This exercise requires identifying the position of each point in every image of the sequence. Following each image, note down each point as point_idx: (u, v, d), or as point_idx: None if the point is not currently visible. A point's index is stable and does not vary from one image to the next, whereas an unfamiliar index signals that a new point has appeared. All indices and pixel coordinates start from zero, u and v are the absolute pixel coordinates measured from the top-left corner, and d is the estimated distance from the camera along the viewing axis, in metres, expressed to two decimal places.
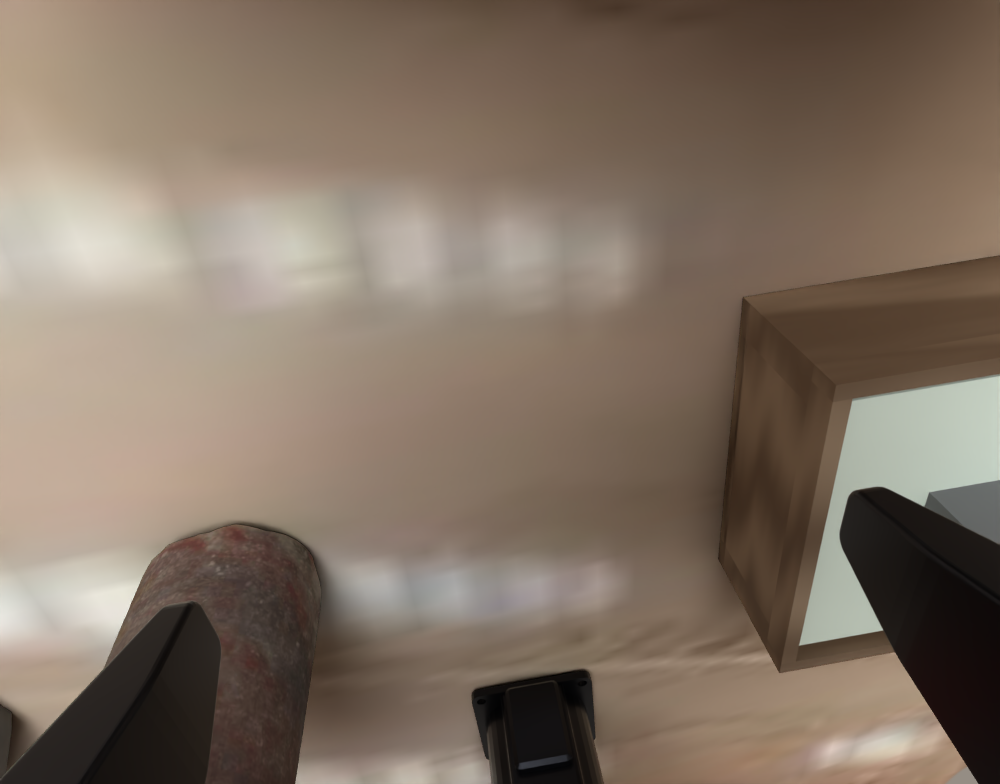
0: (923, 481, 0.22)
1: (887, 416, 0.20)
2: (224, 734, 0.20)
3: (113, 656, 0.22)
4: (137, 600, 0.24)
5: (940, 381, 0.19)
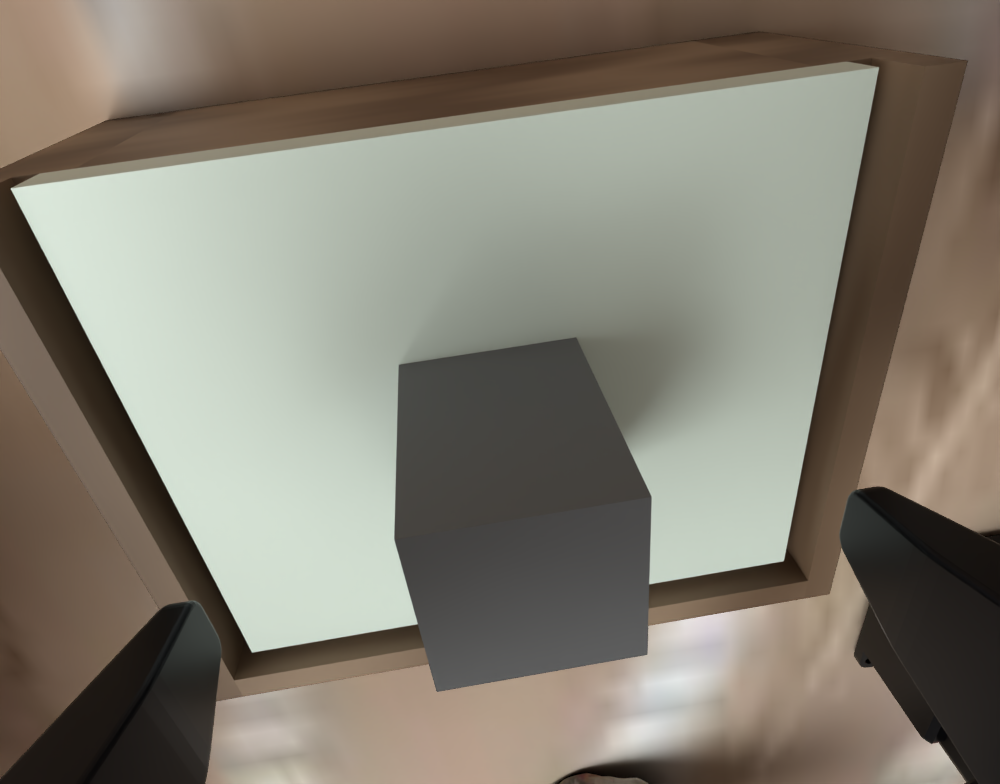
0: None
1: (272, 607, 0.13)
2: None
3: None
4: None
5: (184, 600, 0.12)
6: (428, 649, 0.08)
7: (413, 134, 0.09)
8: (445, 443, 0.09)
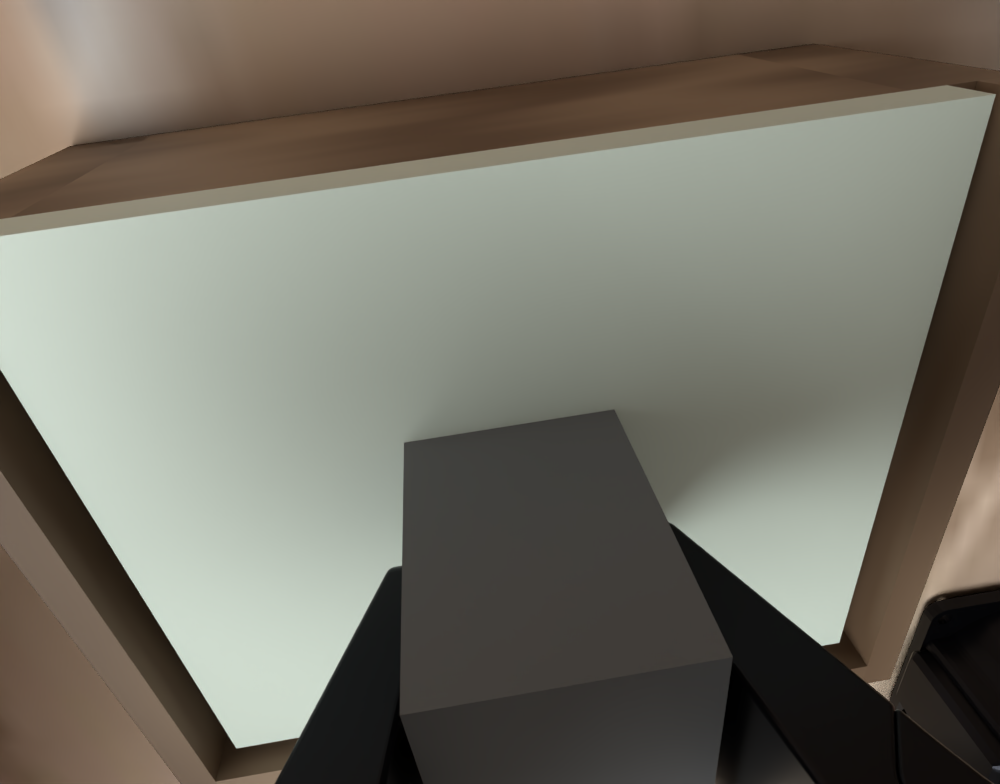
0: None
1: (259, 702, 0.12)
2: None
3: None
4: None
5: (155, 702, 0.11)
6: None
7: (423, 178, 0.07)
8: (461, 560, 0.07)
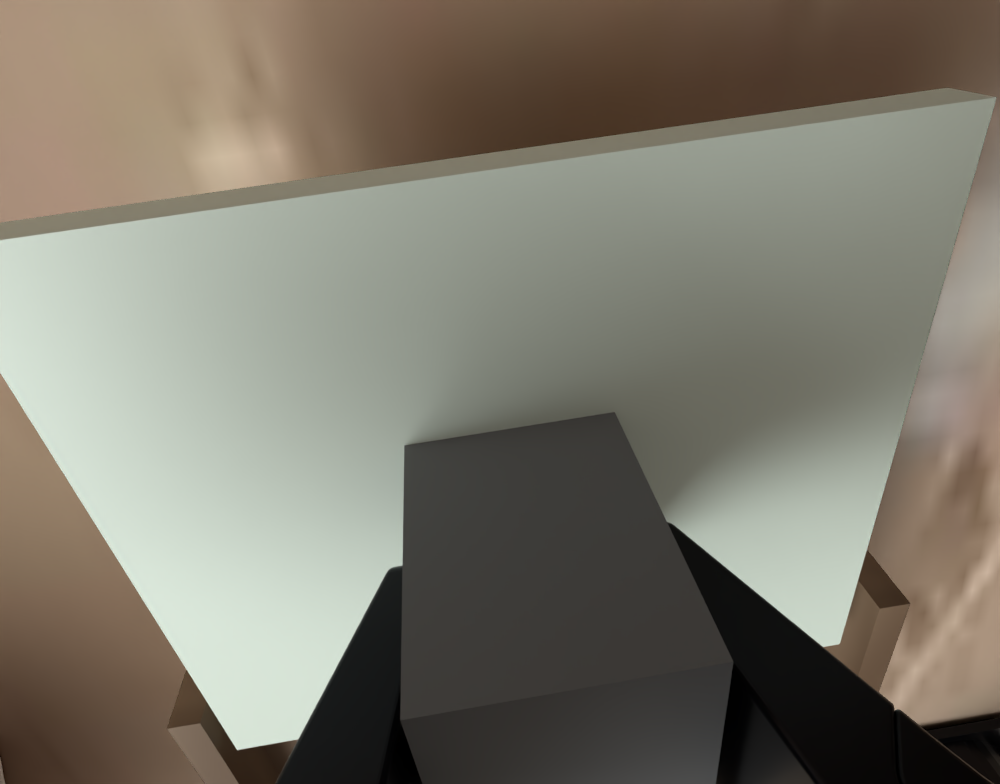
0: None
1: (260, 703, 0.12)
2: None
3: None
4: None
5: None
6: None
7: (423, 182, 0.07)
8: (462, 564, 0.07)
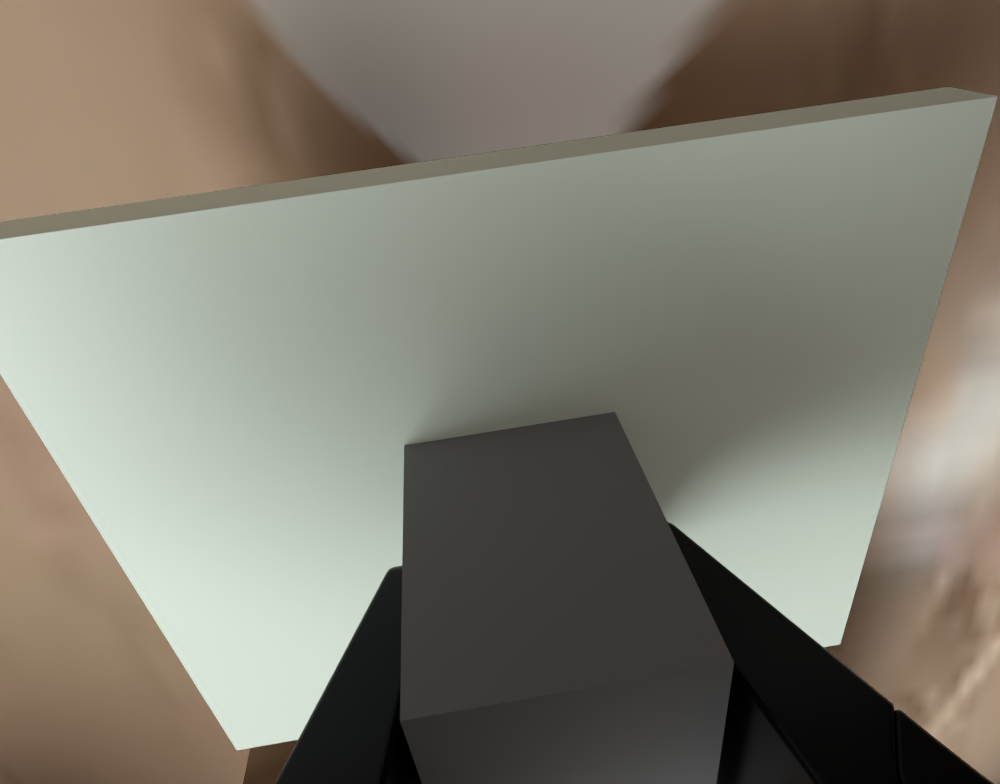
0: None
1: (259, 704, 0.12)
2: None
3: None
4: None
5: None
6: None
7: (423, 181, 0.07)
8: (463, 564, 0.07)
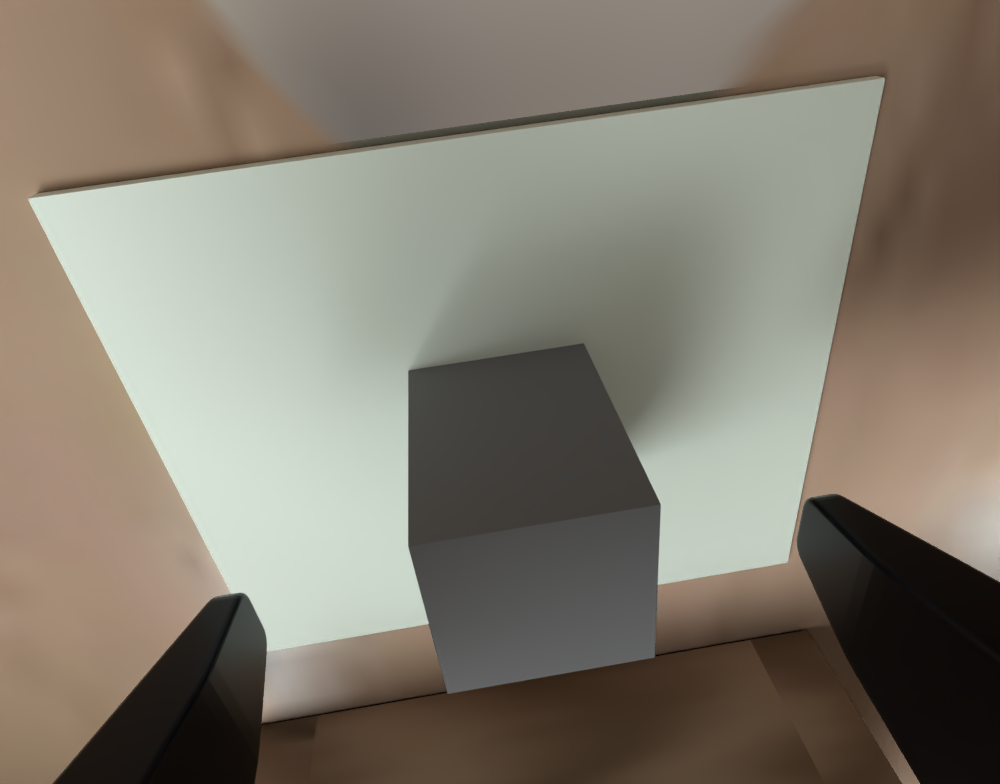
0: None
1: (282, 608, 0.14)
2: None
3: None
4: None
5: None
6: (440, 652, 0.09)
7: (424, 145, 0.09)
8: (456, 449, 0.09)
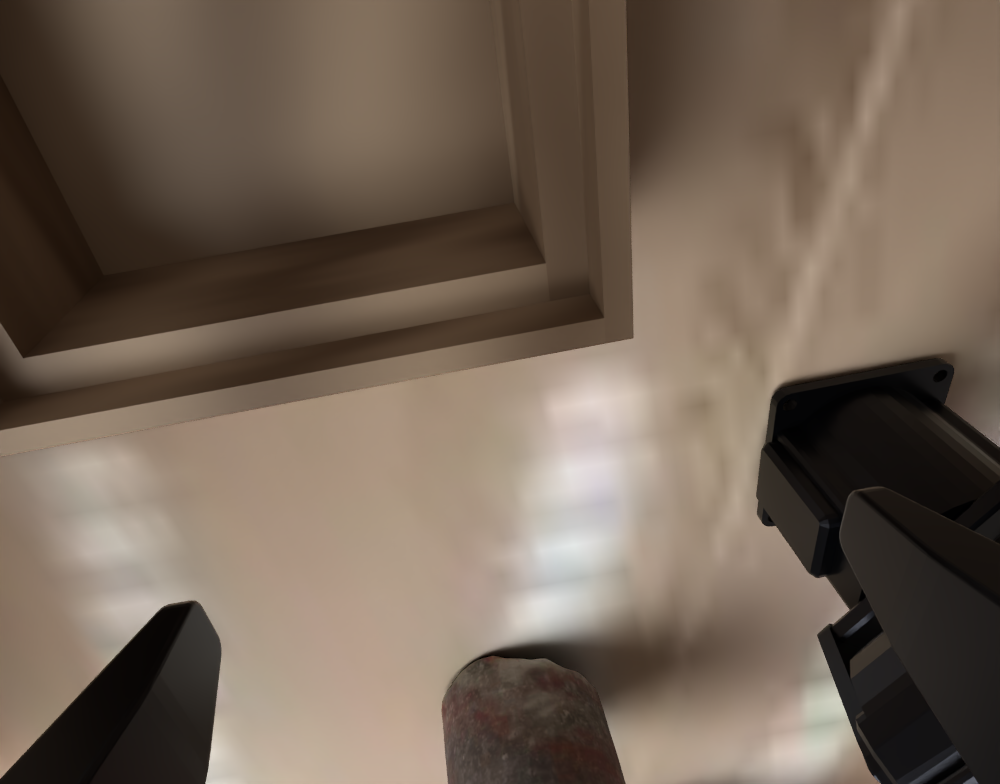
0: None
1: None
2: None
3: None
4: None
5: None
6: None
7: None
8: None
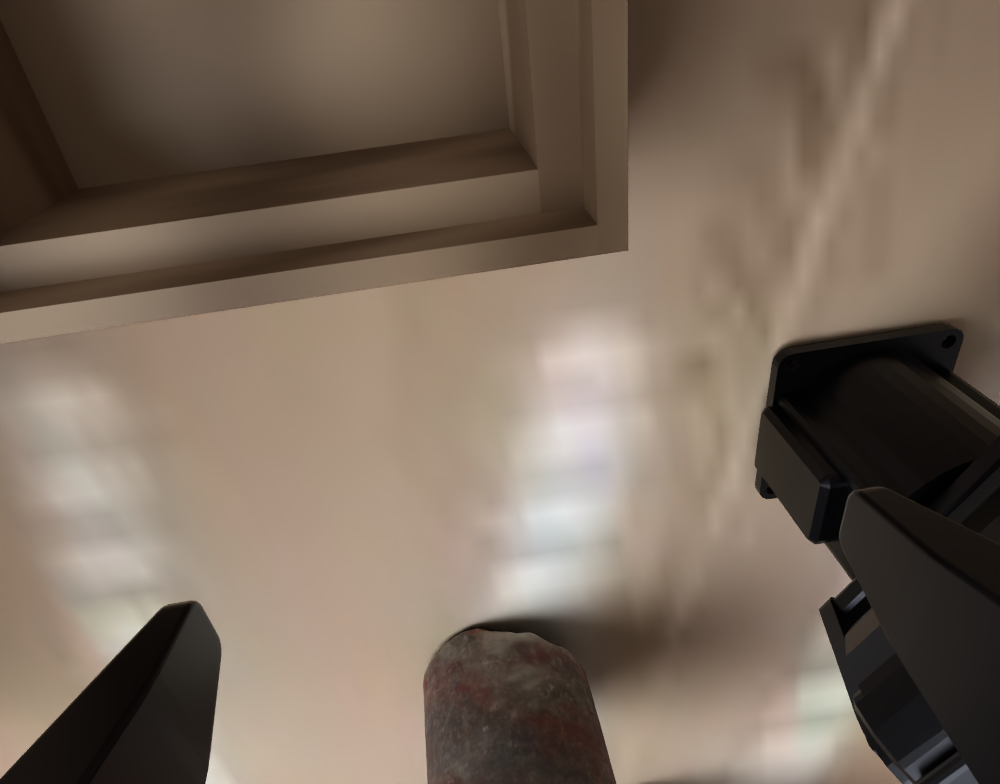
0: None
1: None
2: None
3: None
4: None
5: None
6: None
7: None
8: None
